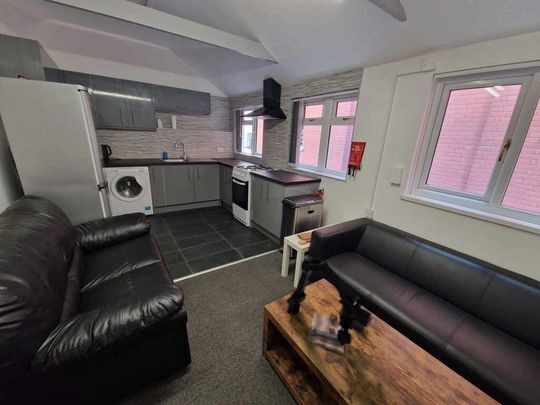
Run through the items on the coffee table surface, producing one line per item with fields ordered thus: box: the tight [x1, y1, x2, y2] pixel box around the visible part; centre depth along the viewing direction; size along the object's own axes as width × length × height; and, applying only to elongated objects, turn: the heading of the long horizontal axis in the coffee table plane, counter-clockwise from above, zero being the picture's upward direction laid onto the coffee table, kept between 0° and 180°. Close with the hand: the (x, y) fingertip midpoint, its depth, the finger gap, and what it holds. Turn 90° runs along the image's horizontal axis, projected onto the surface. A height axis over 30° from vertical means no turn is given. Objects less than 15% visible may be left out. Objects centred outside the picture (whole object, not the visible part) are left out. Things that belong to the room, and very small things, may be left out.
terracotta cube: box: [329, 325, 335, 332], centre depth 118 cm, size 3×2×2 cm, turn 68°
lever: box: [308, 326, 344, 342], centre depth 113 cm, size 18×4×8 cm, turn 72°
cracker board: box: [307, 312, 345, 355], centre depth 119 cm, size 18×19×5 cm
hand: (342, 337), depth 110 cm, fingers open, 9 cm apart
